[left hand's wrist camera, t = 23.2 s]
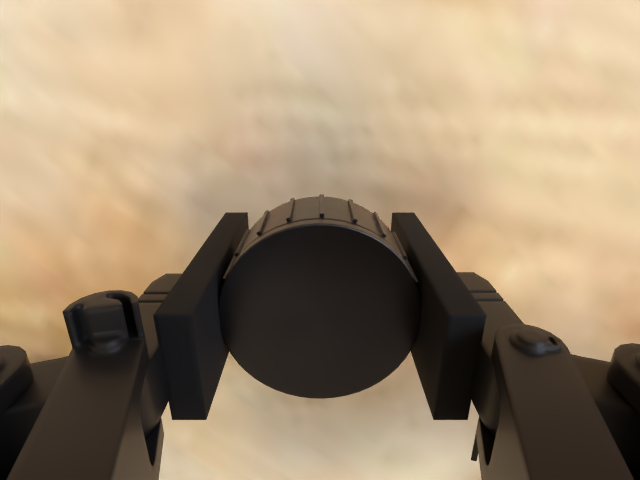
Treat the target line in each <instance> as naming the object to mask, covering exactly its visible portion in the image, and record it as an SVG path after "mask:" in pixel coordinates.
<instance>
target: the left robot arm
mask: <svg viewBox="0 0 640 480" xmlns="http://www.w3.org/2000/svg"><path fill="white" fill-rule="evenodd" d="M247 229H249V227H248V213H225V215H224V216H223V217H222V219H221V220H220V222H219V223H218V225H217V226H216V227H215V229H214V230H213V232H212V233H211V234H210V236H209V237H208V239H207V240H206V241H205V243H204V244H203V246H202V247H201V248H200V250H199V251H198V253H197V254H196V255H195V257H194V258H193V260H192V261H191V262H190V264H189V265H188V267H187V268H186V270H185V271H184V272H183V274H165V275H163V276H162V277H160V278H158V279H157V280H155V281H153V282H152V283H151V284H150V285H149V287H148V288H147V289H146V290H145V291H144V294H142V295H141V296H140V297H139V299H138V297H137V296H136V295H134V294H133V293H132V292H127V291H122V290H116V291H105V292H100V293H94V294H92V295H89V296H86V297H83V298H81V299H79V300H77V301H75V302H73V303H72V304H70V305H69V306H68V307H67V308H66V309H65V310H64V311H63V315H64V319H65V322H66V326H67V329H68V333H69V337H70V340H71V344H72V347H73V349H72V351H71V353H70V354H69V356H67V357H63V358H58V359H53V360H48V361H43V362H38V363H32V364H30V363H29V360H28V357H27V354H26V351H25V350H23V349H22V348H20V347H18V346H10V345H6V346H0V480H158V479H159V471H160V463H161V454H162V446H163V438H164V431H163V425H162V420H161V416H162V414H163V412H164V410H165V407H166V405H167V403H168V401H169V405H170V410H171V416H172V420H206V419H207V416H208V413H209V410H210V407H211V404H212V401H213V398H214V395H215V392H216V389H217V386H218V383H219V380H220V377H221V374H222V371H223V368H224V365H225V362H226V359H227V356H228V353H229V349H228V347H227V346H226V344H225V341H224V339H223V336H222V334H221V328H220V320H219V310H218V303H219V296H220V292H221V288H222V285H223V283H224V282H222V278H223V276H224V274H225V272H226V270H227V268H228V266H229V264H230V262H231V260H232V258H233V256H234V254H235V252H236V250H237V248H238V246H239V244H240V242H241V240H242V238H243V236H244V234H245V232H246V230H247ZM392 232H395V233H396V235H397V237H398V239H399V241H400V243H401V245H402V247H403V249H404V251H405V253H406V256H407V260H408V262H409V264H410V266H411V268H412V270H413V272H414V274H415V276H416V278H417V280H418V285H417V286H418V289H419V292H420V298H421V304H422V305H421V318H420V326H419V332H418V335H417V339H416V341H415V343H414V345H413V347H412V349H411V354H412V357H413V360H414V363H415V366H416V369H417V372H418V375H419V378H420V381H421V384H422V387H423V389H424V392H425V395H426V398H427V401H428V404H429V407H430V410H431V413H432V416H433V419H434V420H468V415H469V409H470V404H471V400H472V402H473V404H474V406H475V408H476V410H477V412H478V414H479V420H478V425H477V430H476V435H475V440H474V445H473V451H472V457H471V460H473V461H477V456H478V453H479V462H480V470H481V478H482V480H640V344H633V343H631V344H623V345H620V346H619V347H617V348H616V349H615V350H614V353H613V356H612V359H611V362H607V361H601V360H596V359H591V358H586V357H581V356H576V355H572V354H570V352H569V350H568V348H567V347H566V345H565V344H564V343H563V342H562V340H561V339H559V338H558V337H556V336H555V335H553V334H552V333H550V332H548V331H545V330H543V329H540V328H538V327H534V326H530V325H525V324H524V323H523V322H522V321H521V320H520V319H519V317H518V316H517V315H516V314H515V313H514V311H513V310H512V309H511V308H510V307H509V305H508V304H507V303H506V302H505V301H503V298H502V297H501V296H500V295H499V293H496V290H495V289H494V288H493V286H492V285H491V284H490V283H489V282H488V281H487V280H486V279H484V278H482V277H480V276H479V275H477V274H475V273H474V272H456V271H455V270H454V268H453V267H452V266H451V264H450V263H449V261H448V260H447V259H446V257H445V256H444V254H443V253H442V252H441V250H440V249H439V247H438V246H437V245H436V243H435V242H434V240H433V239H432V238H431V236H430V235H429V233H428V232H427V231H426V229H425V228H424V226H423V225H422V223H421V222H420V221H419V219H418V218H417V216H416V215H415V214H414V213H392V224H391V233H392Z"/></svg>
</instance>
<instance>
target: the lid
mask: <svg viewBox="0 0 640 480" xmlns="http://www.w3.org/2000/svg"><path fill="white" fill-rule="evenodd" d="M222 282H224V283H223V285H222V288H221V292H220V296H219V303H218V310H219V320H220V328H221V334H222V336H223V339H224V341H225V344H226V346H227V347H228V349H229V351H230V353H231V354H232V356H233V357H234V358H235V360H236V361H237V362H238V364H239V365H240V366H241V367H242V368H243V369H244V370H245V371H246V372H248V373H249V374H250V375H251V376H253V377H254V378H255V379H257V380H258V381H260V382H261V383H263V384H265V385H267V386H269V387H271V388H273V389H275V390H277V391H280V392H283V393H286V394H290V395H294V396H298V397H306V398H335V397H341V396H346V395H350V394H353V393H357V392H360V391H362V390H364V389H367V388H369V387H371V386H373V385H375V384H377V383H378V382H380V381H382V380H383V379H384V378H386V377H387V376H389V375H390V374H391V373H392V372H393V371H394V370H395V369H397V368H398V367H399V365H400V364H401V363H402V362H403V361H404V360H405V358H406V357H407V355H408V354H409V352H410V351H411V349H412V347H413V345H414V343H415V341H416V339H417V335H418V332H419V326H420V318H421V305H422V304H421V298H420V292H419V289H418V286H417V285H418V280H417V278H416V276H415V274H414V272H413V270H412V268H411V266H410V264H409V262H408V260H407V256H406V253H405V251H404V249H403V247H402V245H401V243H400V241H399V239H398V237H397V235H396V233H395V232H392V233H391V231H390V230H389V228H388V227H387V226H386V225H385V224H384V223H383V222H382V221H381V220H380V219H379V216H378V214H377V213H376V212H374V213H371V212H370V211H368V210H367V209H365V208H363V207H361V206H359V205H357V204H355V203H353V200H350V199H349V200H348V201H346V200H342V199H338V198H331V197H324V195H320V197H309V198H302V199H298V200H295V199H294V198H293V199H291V200H290V202H288V203H285V204H282V205H281V206H279V207H277V208H275V209H273V210H271V211H270V212H269V211H268V210H267V211H266V212H265V213H264V216H263V217H262V218H261V219H260V220H259V221H258V222H256V223H255V224H254V226H253V227H252V228H251V229H250V230H249V229H247V230H246V232H245V234H244V236H243V238H242V240H241V242H240V244H239V246H238V248H237V250H236V252H235V254H234V256H233V258H232V260H231V262H230V264H229V266H228V268H227V270H226V272H225V274H224V276H223V278H222Z"/></svg>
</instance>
